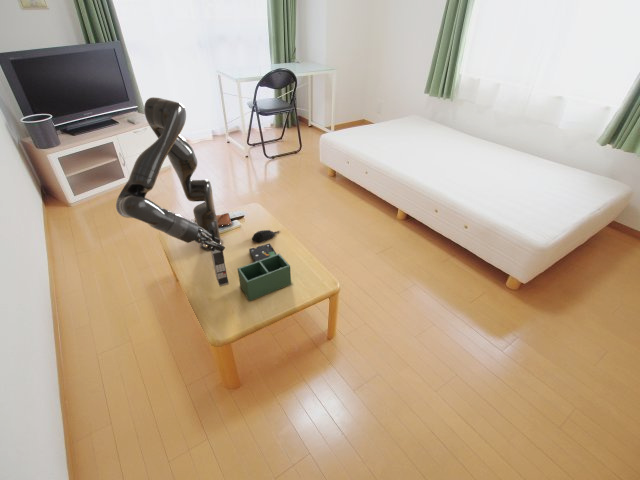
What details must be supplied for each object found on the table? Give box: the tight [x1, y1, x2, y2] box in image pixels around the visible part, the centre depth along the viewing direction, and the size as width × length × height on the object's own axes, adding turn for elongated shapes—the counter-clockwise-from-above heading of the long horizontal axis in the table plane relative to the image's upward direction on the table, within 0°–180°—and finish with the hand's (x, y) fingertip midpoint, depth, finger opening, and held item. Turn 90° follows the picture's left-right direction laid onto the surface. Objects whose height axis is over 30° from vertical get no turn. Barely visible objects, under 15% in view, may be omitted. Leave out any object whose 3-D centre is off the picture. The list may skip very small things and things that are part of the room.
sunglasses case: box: [194, 212, 233, 228], centre depth 175 cm, size 18×7×7 cm, turn 114°
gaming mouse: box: [251, 229, 279, 244], centre depth 166 cm, size 6×15×4 cm, turn 129°
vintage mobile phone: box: [210, 229, 230, 288], centre depth 128 cm, size 4×5×25 cm
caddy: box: [237, 253, 292, 302], centre depth 136 cm, size 10×18×10 cm, turn 123°
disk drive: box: [248, 243, 277, 263], centre depth 152 cm, size 10×3×15 cm
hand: (220, 245), depth 125 cm, fingers closed on vintage mobile phone, 4 cm apart
